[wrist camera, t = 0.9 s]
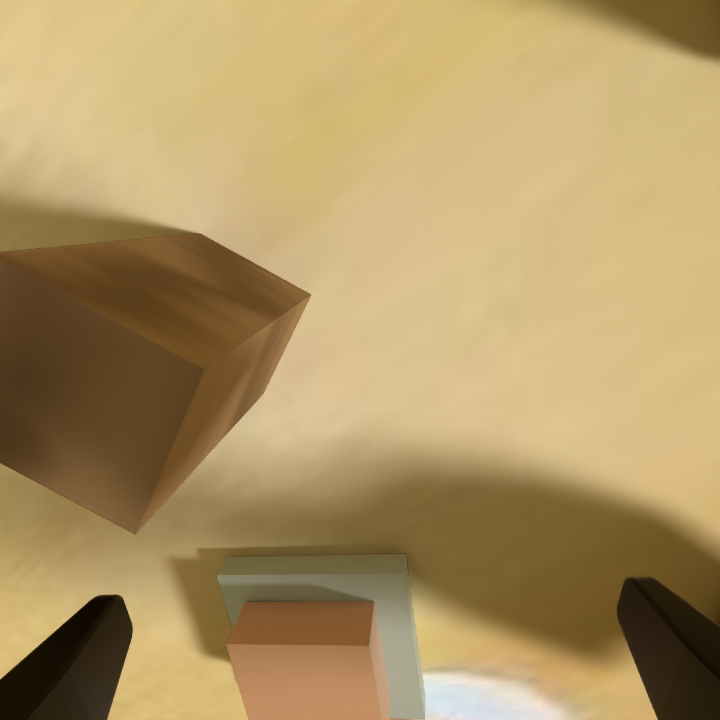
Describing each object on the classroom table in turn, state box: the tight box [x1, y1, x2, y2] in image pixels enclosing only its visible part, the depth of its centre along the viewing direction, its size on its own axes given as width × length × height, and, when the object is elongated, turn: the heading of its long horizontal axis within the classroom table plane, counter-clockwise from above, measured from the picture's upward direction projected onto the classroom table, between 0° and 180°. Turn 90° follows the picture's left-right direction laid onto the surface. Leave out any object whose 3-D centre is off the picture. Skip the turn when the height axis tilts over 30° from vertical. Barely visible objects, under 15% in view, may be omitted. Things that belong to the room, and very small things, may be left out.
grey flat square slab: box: [217, 554, 425, 720], centre depth 25 cm, size 10×10×2 cm
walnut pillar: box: [0, 234, 311, 534], centre depth 16 cm, size 6×6×10 cm
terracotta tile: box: [226, 601, 391, 720], centre depth 23 cm, size 7×7×2 cm
